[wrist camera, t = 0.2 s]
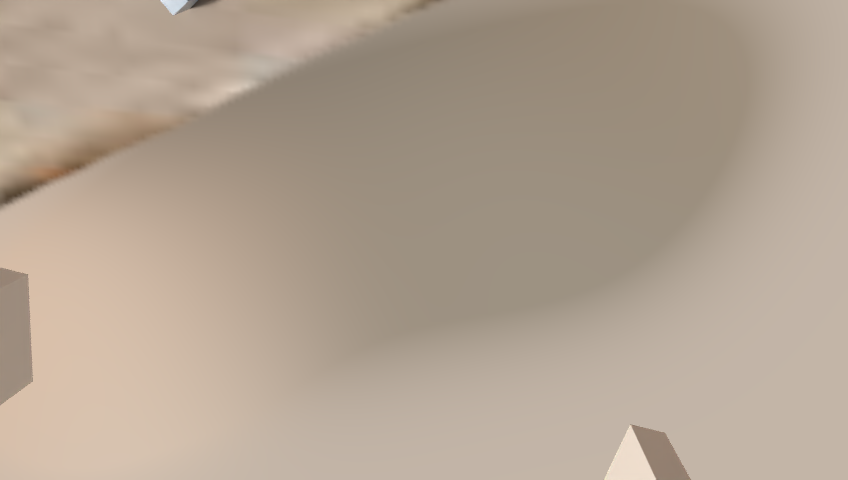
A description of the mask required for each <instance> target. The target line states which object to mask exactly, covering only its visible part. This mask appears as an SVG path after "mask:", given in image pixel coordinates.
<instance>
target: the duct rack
mask: <svg viewBox="0 0 848 480" xmlns="http://www.w3.org/2000/svg"><path fill="white" fill-rule="evenodd" d="M160 1H161V2H162V3H163V4H164V5H165V6H166V8H167V9H168V10H169V11H170V12H171V13H172V15H176V14H178V13H181V12H183V11H185V10H188V9H190V8H191V7H192V6H193V5H194V4H195V3H196V2H197V1H198V0H160Z"/></svg>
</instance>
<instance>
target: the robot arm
mask: <svg viewBox="0 0 848 480" xmlns="http://www.w3.org/2000/svg"><path fill="white" fill-rule="evenodd" d="M32 381H33V378H32V355H31V333H30V311H29V287H28V274H24V273H20V272H15V271H12V270H8V269H4V268H0V405H1V404H2V403H4V402H5V401H6V400H8V399H9V398H10V397H12V396H13V395H15V394H16V393H17V392H19V391H20V390H21V389H23V388H24V387H25V386H27V385H28V384H30V383H31V382H32ZM604 480H691V479H690V477H689V476H688V474H687V472H686V470H685V468H684V466H683V465H682V463H681V461H680V459H679V457H678V456H677V454H676V452H675V450H674V448H673V446H672V445H671V443H670V441H669V439H668V437H667V436H666V434H665V433H663V432H659V431H655V430H651V429H647V428H643V427H639V426H635V425H630V426H629V428H628V431H627V433H626V435H625V437H624V439H623V441H622V443H621V445H620V447H619V449H618V451H617V454H616V456H615V458H614V460H613V462H612V464H611V466H610V468H609V470H608V472H607V475H606V477H605V479H604Z"/></svg>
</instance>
